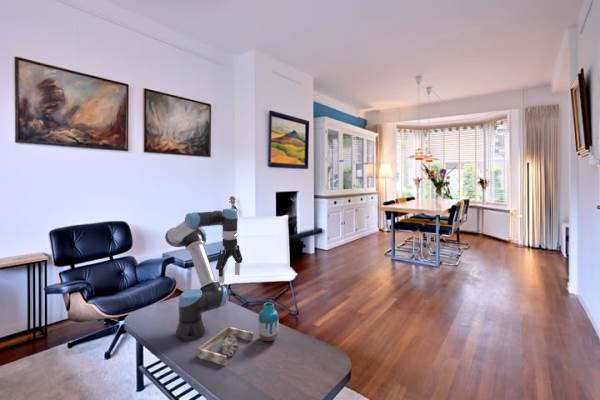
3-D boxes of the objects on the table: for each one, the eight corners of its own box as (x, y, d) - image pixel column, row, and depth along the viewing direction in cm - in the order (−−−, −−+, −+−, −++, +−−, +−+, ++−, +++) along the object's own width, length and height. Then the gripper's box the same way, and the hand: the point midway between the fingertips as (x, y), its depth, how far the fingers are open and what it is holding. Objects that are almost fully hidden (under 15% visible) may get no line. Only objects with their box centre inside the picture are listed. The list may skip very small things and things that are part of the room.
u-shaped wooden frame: (196, 357, 142) (196, 348, 142) (227, 333, 165) (227, 326, 165) (225, 365, 136) (225, 357, 136) (253, 339, 159) (253, 332, 158)
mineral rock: (234, 358, 142) (234, 349, 141) (217, 357, 142) (217, 348, 142) (242, 342, 156) (242, 334, 156) (227, 341, 157) (227, 333, 157)
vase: (275, 345, 153) (275, 309, 152) (255, 343, 155) (255, 307, 154) (280, 335, 164) (281, 301, 162) (262, 333, 166) (262, 299, 164)
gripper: (220, 243, 143) (220, 287, 144) (249, 235, 166) (248, 272, 167) (208, 242, 146) (208, 284, 147) (237, 234, 169) (237, 270, 170)
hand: (229, 278), depth 157 cm, fingers open, 13 cm apart
